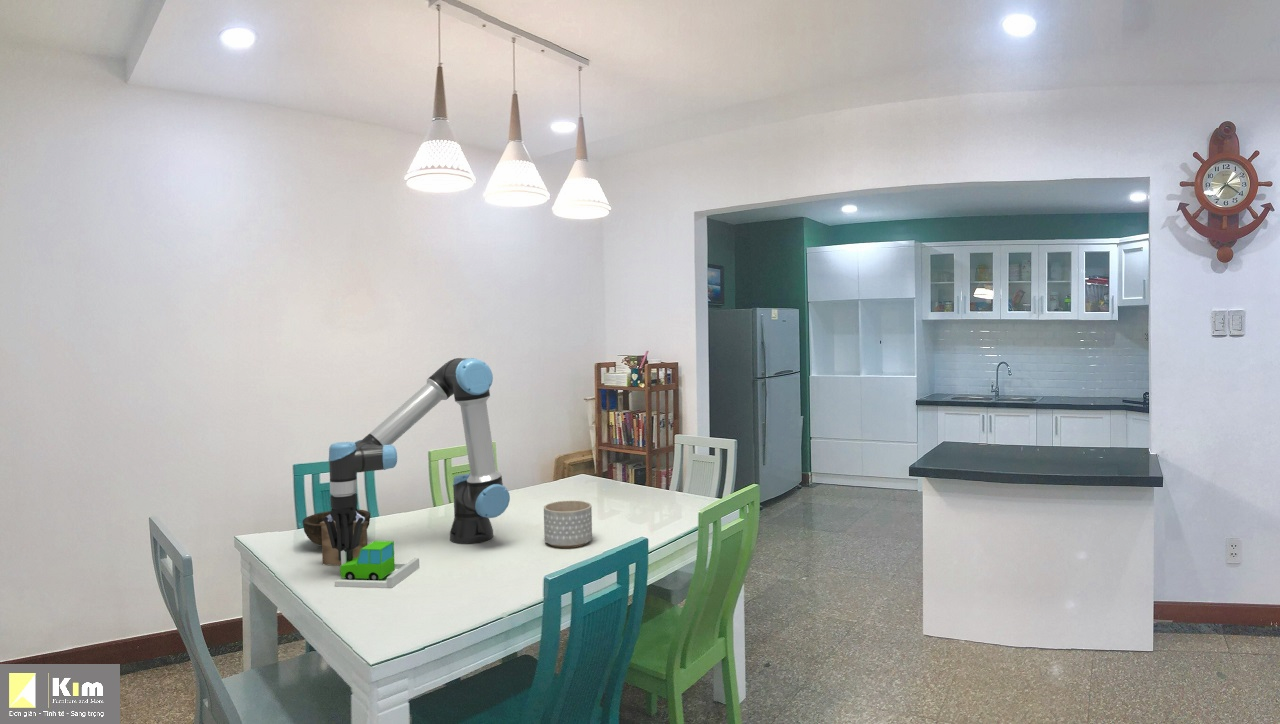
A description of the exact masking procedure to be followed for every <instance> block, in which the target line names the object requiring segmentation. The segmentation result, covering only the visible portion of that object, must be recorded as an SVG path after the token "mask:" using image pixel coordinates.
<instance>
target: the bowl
mask: <svg viewBox="0 0 1280 724" xmlns="http://www.w3.org/2000/svg"><path fill="white" fill-rule="evenodd" d="M357 510H358V512H359V514H360V515H361V516H365V517H366V520H365V521H368V524H367V529H368V528H369V526H370V523H371V522H370V521H371V512H369V511H368V510H363V509H357ZM330 511H331V510H328V511H322V512H319V513H314V514H311V515H309V516H306V517H304V518H303V520H302V521H301V522H302V525H303V526H302V527H303V532H304V533H305V536H306V538H308V540H310V542H312V543H314V544H315V545H317V546H321V547H322V531H321V525H320V522H322V521H323V518H324V517H326V516H328V515H330ZM333 521H334V519H333ZM354 521H356V519H355V520H354Z"/></svg>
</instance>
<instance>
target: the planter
mask: <svg viewBox="0 0 1280 724" xmlns="http://www.w3.org/2000/svg"><path fill="white" fill-rule="evenodd" d="M592 507H593V506H592V504H591V503H590V502H587V501H584V500H583V501H582V500H561V501H559V500H558V501H554V502H550V503H547V504H545V505H544V506H543V525H544V526H543V528H544V529H543V531H544V535H543V537H544V542H545V543H546V544H548V545H550V546H551V547H555V548H561V549H562V548H563V549H568V548H569V549H570V548H579V547H582V546H584V545H586V544H587V543H589V542H590V541H592V539H593V519H592V517H593V516H592V514H593V513H592Z"/></svg>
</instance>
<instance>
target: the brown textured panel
mask: <svg viewBox="0 0 1280 724" xmlns="http://www.w3.org/2000/svg"><path fill="white" fill-rule="evenodd" d="M334 523H335V527H336V522H335V521H334ZM367 524H368V521H365V522H364V523H363V527H362V532H361V537H360V542H359V546H358V547H356V548H354V549H353V558H357V557H359V553H360V550H361V549H362V548H363V547H365V546H367V545H368V528H367ZM320 525H321V531H322V546H321V549H322V550H321V551H322V552H321V554H322V559H321V560H322V565H323V564H332V565H331V566H341V561H339V553H338V550H337V549H335V548H334V549H333V548H332V546H331V542H330V538H329V534H328V530H327V526H326V524H325V522H324V521H322V522H320ZM355 525H356V521H354V525H353V534H354V529H355ZM336 531H337V528H336Z"/></svg>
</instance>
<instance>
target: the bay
mask: <svg viewBox="0 0 1280 724" xmlns="http://www.w3.org/2000/svg"><path fill="white" fill-rule="evenodd" d="M394 563H395V570H394V571H393V572H391V573H390V574H389V575H387V577H386V580H378V581H373V580H370V579H368V580H367V579H355V580H346V579H336V580H334V587H340V588H341V587H343V588H372V589H373V588H375V589H376V588H379V589H393V588H395V586H397V585H398V584H400V583H401V582H402V581H403V580H405V579H406V578H407V577H409V576H410V575H412V574H413V573H414V572H416V571H417V570H418V569H419V568H420V558H419V557H414V558H412V559H411V560H410V561H408V562H402V561H401V562H400V561H399V562H397V561H396V562H395V561H394Z"/></svg>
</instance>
